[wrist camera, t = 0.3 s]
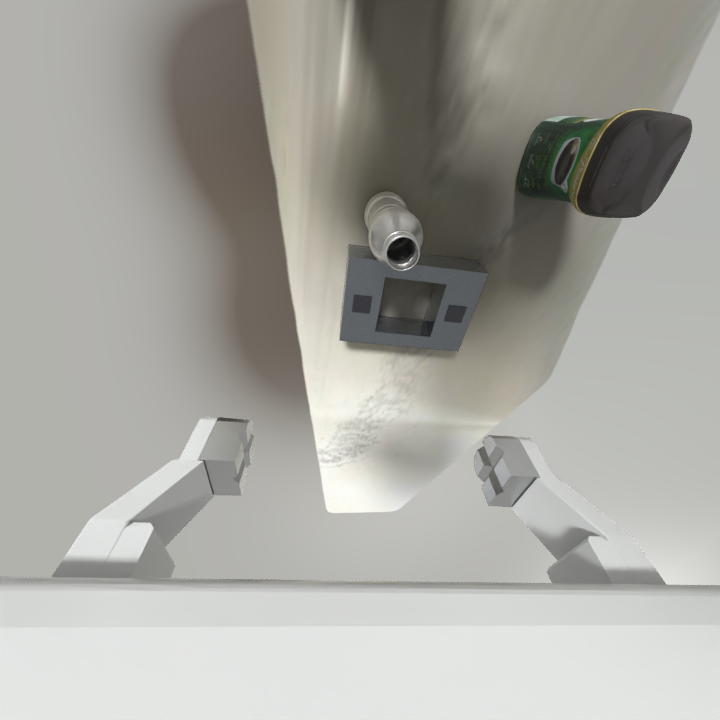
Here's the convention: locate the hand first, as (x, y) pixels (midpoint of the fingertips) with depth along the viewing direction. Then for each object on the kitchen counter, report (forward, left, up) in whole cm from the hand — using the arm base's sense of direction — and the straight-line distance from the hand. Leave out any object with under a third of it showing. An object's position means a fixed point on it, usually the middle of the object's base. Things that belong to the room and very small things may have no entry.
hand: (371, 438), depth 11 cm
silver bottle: (+1, +5, -45) cm, 45 cm away
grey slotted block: (+14, +11, -45) cm, 48 cm away
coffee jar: (-9, +27, -45) cm, 53 cm away
